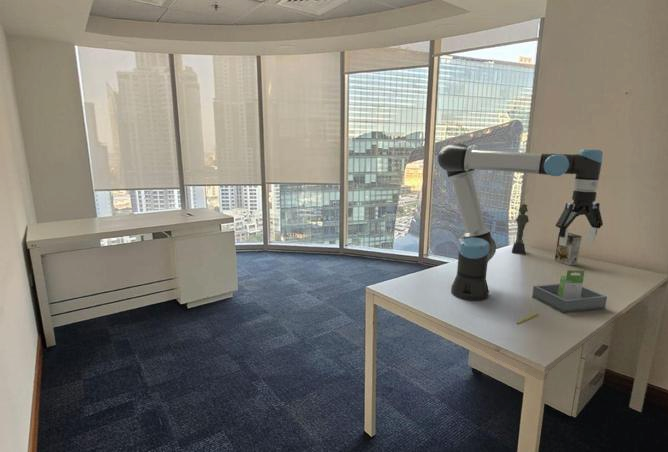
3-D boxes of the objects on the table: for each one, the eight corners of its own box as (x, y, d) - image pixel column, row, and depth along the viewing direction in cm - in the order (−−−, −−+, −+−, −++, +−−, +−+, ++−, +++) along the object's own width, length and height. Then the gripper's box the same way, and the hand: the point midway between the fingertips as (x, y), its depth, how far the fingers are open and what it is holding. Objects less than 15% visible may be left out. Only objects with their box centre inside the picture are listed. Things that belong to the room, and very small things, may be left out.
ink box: (574, 298, 155) (579, 267, 152) (580, 302, 151) (585, 270, 148) (557, 297, 156) (561, 266, 153) (562, 301, 152) (566, 270, 149)
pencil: (515, 324, 135) (515, 321, 135) (535, 314, 143) (535, 312, 143) (517, 325, 134) (518, 322, 134) (538, 315, 142) (538, 313, 142)
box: (563, 313, 144) (565, 301, 142) (532, 297, 159) (533, 285, 158) (605, 308, 148) (607, 296, 147) (570, 293, 164) (572, 282, 163)
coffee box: (554, 260, 211) (558, 232, 207) (562, 259, 212) (567, 231, 209) (568, 265, 202) (572, 236, 199) (577, 264, 204) (582, 235, 200)
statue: (524, 251, 228) (531, 202, 221) (525, 254, 221) (531, 204, 215) (511, 250, 231) (517, 201, 224) (512, 253, 224) (517, 203, 218)
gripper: (566, 192, 137) (558, 248, 142) (619, 191, 143) (610, 245, 148) (550, 189, 144) (542, 243, 149) (601, 188, 150) (593, 240, 155)
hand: (576, 244), depth 148 cm, fingers open, 13 cm apart
